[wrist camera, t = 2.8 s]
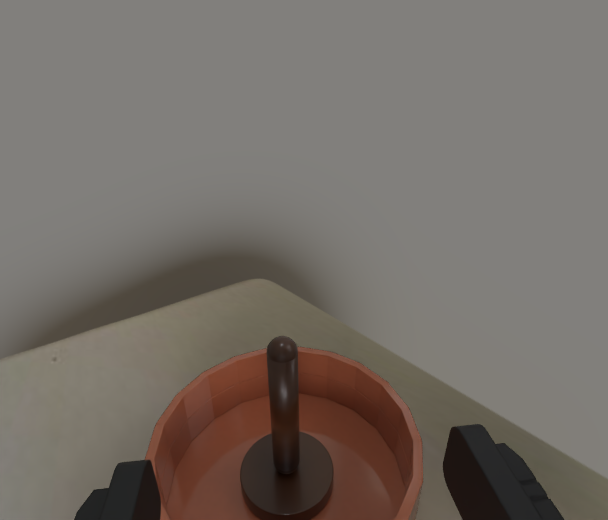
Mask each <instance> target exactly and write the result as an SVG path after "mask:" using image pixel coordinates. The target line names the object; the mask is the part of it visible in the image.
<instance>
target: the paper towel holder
mask: <svg viewBox="0 0 608 520" xmlns="http://www.w3.org/2000/svg"><path fill="white" fill-rule="evenodd" d="M267 369H268V385H269V401H270V417H271V434H268V435H266V436H264V437H262V438H261V439H259V440H258V441H257V442H256V443H254V444H253V445H252V446H251V448H250V449H249V450H248V452H247V453H246V455H245V457H244V459H243V461H242V464H241V469H240V482H241V490H242V495H243V498H244V501H245V503H246V504H247V506H248V508H249V509H250V510H251V511H252V512H253V513H254V514H255V515H256V516H257V517H258V518H260V519H261V520H310V519H312V518H313V517H314V516H316V515H317V514H318V513H319V512H320V511H321V510H322V509H323V508H324V507H325V505H326V504H327V502H328V500H329V498H330V496H331V492H332V488H333V463H332V459H331V457H330V454H329V452H328V451H327V449H326V448H325V447H324V445H323V444H322V443H321V442H320V441H319V440H317V439H316V438H315V437H313V436H311V435H309V434H307V433H304V432H300V431H299V384H298V349H297V346H296V344H295V342H294V341H293V340H292V339H290V338H289V337H285V336H279V337H276V338H274V339H273V340H272V341H271V342H270V343H269V345H268V347H267Z"/></svg>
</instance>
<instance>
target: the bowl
mask: <svg viewBox="0 0 608 520" xmlns="http://www.w3.org/2000/svg"><path fill="white" fill-rule="evenodd" d="M297 349H298V384H299V431H300V432H304V433H307V434H309V435H311V436H313V437H315V438H316V439H317V440H319V441H320V442H321V443H322V444H323V445H324V447H325V448H326V449H327V451H328V452H329V454H330V457H331V459H332V463H333V488H332V492H331V496H330V498H329V500H328V502H327V504H326V505H325V507H324V508H323V509H322V510H321V511H320V512H319V513H318V514H317V515H316V516H314V517H313V518H312V519H310V520H415V519H416V514H417V509H418V504H419V499H420V494H421V488H422V483H423V452H422V440H421V437H420V435H419V432H418V430H417V427H416V424H415V422H414V419H413V417H412V414H411V412H410V409H409V407H408V406H407V405H406V404H405V402H404V401H403V400H402V399H401V398H400V396H399V395H398V394H397V393H396V391H395V390H394V389H393V388H392V387H391V385H390V384H389V383H388V382H387V381H386V380H384V379H383V378H381V377H380V376H378V375H377V374H375V373H374V372H373V371H371V370H370V369H368V368H367V367H365V366H364V365H362V364H361V363H359V362H356V361H354V360H351V359H349V358H346V357H343V356H341V355H338V354H336V353H333V352H330V351H324V350H317V349H311V348H304V347H297ZM268 434H271V417H270V401H269V385H268V369H267V348H265V349H261V350H257V351H253V352H250V353H246V354H242V355H238V356H234V357H232V358H230V359H228V360H226V361H224V362H222V363H220V364H218V365H216V366H214V367H212V368H210V369H208V370H206V371H204V372H203V373H202V374H200V375H199V376H198V377H197V378H196V379H194V380H193V381H192V382H191V383H190V384H188V385H187V386H186V387H185V388H184V389H182V390H181V391H180V392H179V393H178V394H177V395H176V396H175V397H174V399H173V400H172V402H171V403H170V404H169V406H168V407H167V409H166V410H165V412H164V413H163V415H162V416H161V417H160V419H159V420H158V422H157V423H156V425H155V428H154V431H153V434H152V438H151V441H150V444H149V447H148V451H147V454H146V457H145V460H151V462H152V466H153V470H154V473H155V477H156V481H157V485H158V489H159V493H160V498H161V517H160V520H261V519H260V518H258V517H257V516H256V515H255V514H254V513H253V512H252V511H251V510H250V509H249V508H248V506H247V504H246V503H245V501H244V498H243V495H242V490H241V482H240V469H241V464H242V461H243V459H244V457H245V455H246V453H247V452H248V450H249V449H250V448H251V446H252V445H253V444H254V443H256V442H257V441H258V440H259V439H261V438H262V437H264V436H266V435H268Z"/></svg>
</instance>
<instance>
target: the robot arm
mask: <svg viewBox="0 0 608 520" xmlns="http://www.w3.org/2000/svg"><path fill="white" fill-rule="evenodd" d="M443 472H444V477H445V481H446V484H447V487H448V489H449V491H450V493H451V496H452V498H453V500H454V502H455V504H456V506H457V508H458V511H459V513H460V515H461V517H462V519H463V520H564V518H563V517H562V515H561V514H560V513H559V511H558V510H557V508H556V507H555V505H554V504H553V502H552V501H551V499H548V497H547V494H546V492H545V491H544V489H543V488H542V486H541V485H540V483H539V482H538V483H537V481H536V478H535V476H534V475H533V473H532V472H531V470H530V469H529V467H528V466H527V465H526V463H525V462H524V460H523V459H522V458H521V457H520V456H519V455H517V454H516V453H515V452H514V451H513V450H512V449H510V448H509V447H508V446H507V445H506V444H505V443H500V444H495V443H494V441H493V440H492V438H491V437H490V435H489V434H488V432H487V431H486V429H485V428H484V427H483V426H482V425H480V424H475V425H466V426H457V427H452V428H451V430H450V434H449V439H448V443H447V448H446V452H445V457H444V461H443ZM160 517H161V498H160V493H159V489H158V485H157V481H156V477H155V473H154V470H153V466H152V462H151V460H140V461H131V462H122V463H118V464H117V466H116V468H115V470H114V473H113V476H112V480H111V483H110V486H109V488H105V489H97V490H93V492H92V493H91V494H90V496H89V497H88V498H87V500H86V501H85V502H84V504H83V505H82V506H81V508H80V509H79V510H78V512H77V514H76V516H75V519H74V520H160Z"/></svg>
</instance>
